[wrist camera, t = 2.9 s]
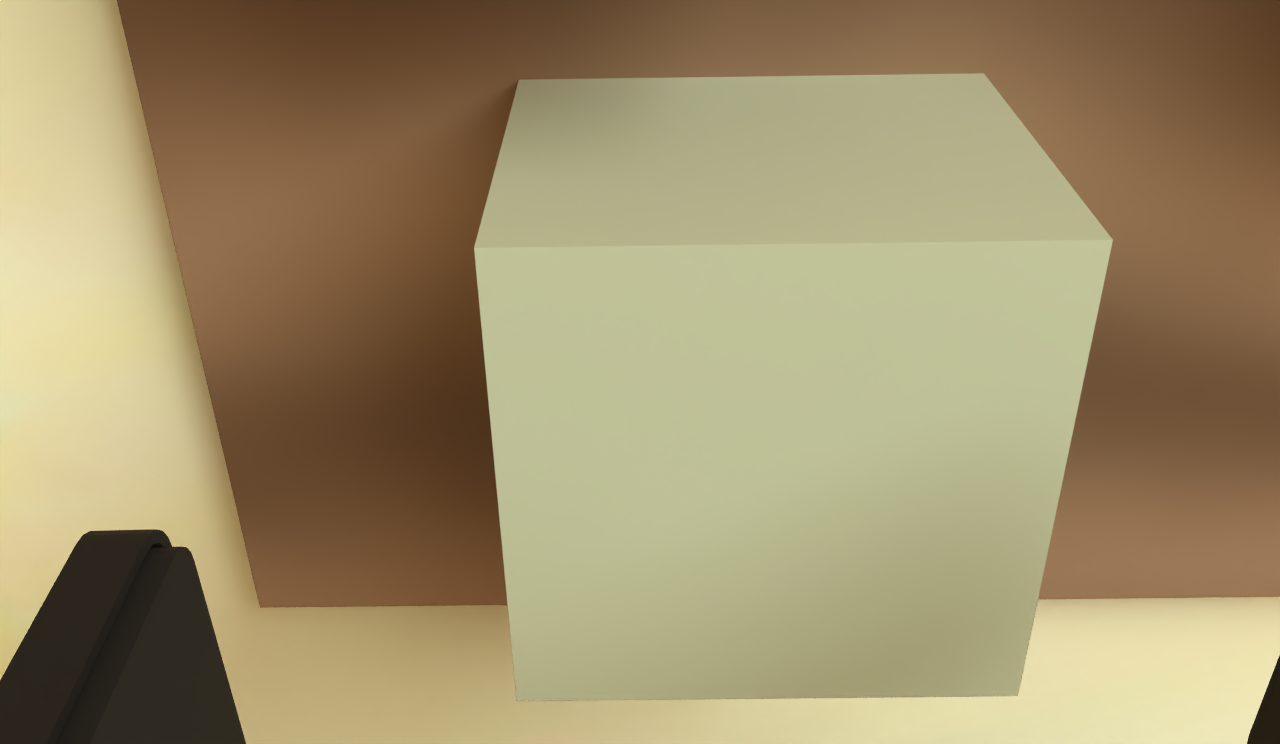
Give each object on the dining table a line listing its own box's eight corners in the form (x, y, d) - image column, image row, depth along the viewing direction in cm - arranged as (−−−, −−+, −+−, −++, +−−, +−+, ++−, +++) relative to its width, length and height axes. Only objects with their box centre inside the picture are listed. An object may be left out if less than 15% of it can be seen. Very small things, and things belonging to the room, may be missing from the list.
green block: (932, 454, 19) (1018, 696, 15) (544, 457, 19) (516, 701, 15) (983, 73, 16) (1113, 240, 11) (518, 79, 16) (474, 247, 11)
